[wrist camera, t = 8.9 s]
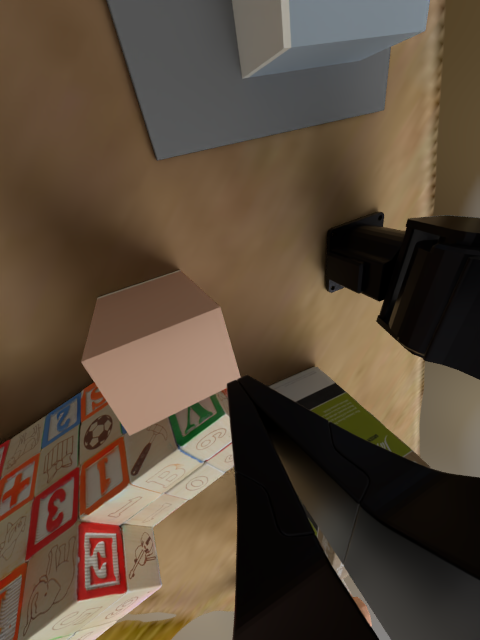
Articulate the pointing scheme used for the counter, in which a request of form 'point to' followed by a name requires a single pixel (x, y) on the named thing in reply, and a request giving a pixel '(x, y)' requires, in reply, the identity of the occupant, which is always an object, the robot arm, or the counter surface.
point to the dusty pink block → (158, 349)
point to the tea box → (346, 413)
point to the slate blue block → (320, 31)
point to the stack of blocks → (95, 510)
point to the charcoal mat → (227, 79)
